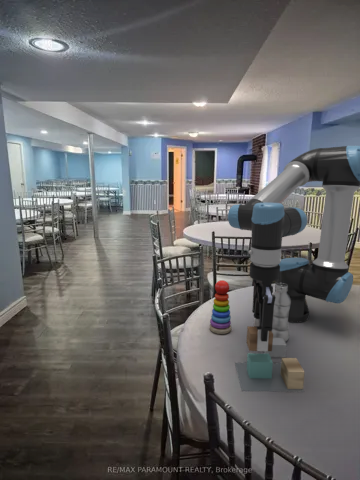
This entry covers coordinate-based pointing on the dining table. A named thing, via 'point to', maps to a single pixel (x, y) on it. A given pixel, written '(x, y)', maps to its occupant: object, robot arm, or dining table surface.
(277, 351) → the grey block
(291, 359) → the oak block
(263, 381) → the slate board
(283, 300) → the plastic bottle
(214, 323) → the stacking toy
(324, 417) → the dining table surface
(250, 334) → the walnut block
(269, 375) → the teal block
